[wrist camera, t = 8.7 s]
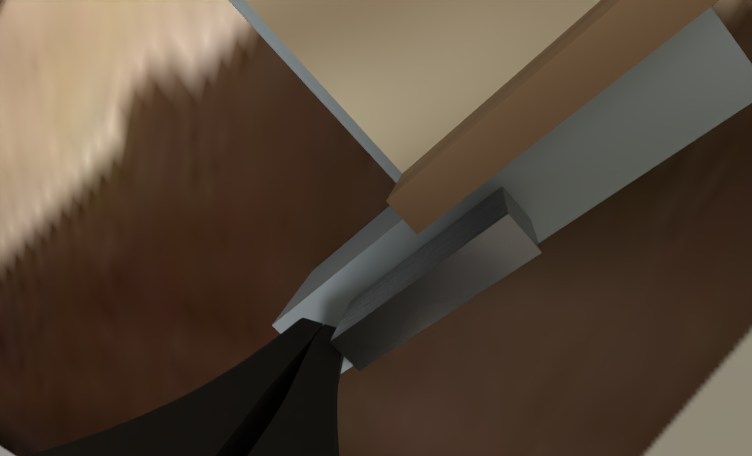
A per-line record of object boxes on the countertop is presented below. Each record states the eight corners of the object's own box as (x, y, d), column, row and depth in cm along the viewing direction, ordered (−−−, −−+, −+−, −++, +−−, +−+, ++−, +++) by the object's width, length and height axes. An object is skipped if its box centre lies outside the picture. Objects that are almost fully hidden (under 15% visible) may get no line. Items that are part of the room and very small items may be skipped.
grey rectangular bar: (350, 300, 11) (329, 342, 10) (502, 185, 9) (508, 213, 8) (375, 326, 11) (359, 370, 10) (530, 218, 9) (542, 253, 8)
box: (152, 109, 15) (52, 126, 11) (434, -302, 9) (411, -513, 6) (358, 316, 16) (326, 388, 13) (704, 65, 11) (812, 70, 7)
